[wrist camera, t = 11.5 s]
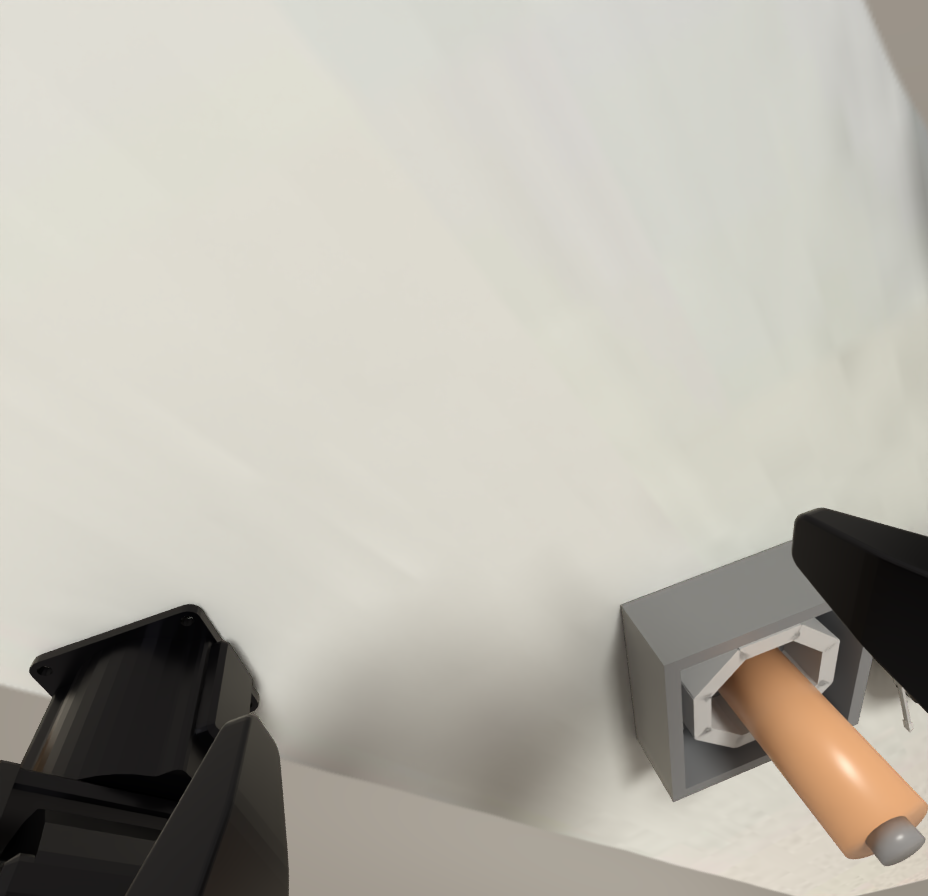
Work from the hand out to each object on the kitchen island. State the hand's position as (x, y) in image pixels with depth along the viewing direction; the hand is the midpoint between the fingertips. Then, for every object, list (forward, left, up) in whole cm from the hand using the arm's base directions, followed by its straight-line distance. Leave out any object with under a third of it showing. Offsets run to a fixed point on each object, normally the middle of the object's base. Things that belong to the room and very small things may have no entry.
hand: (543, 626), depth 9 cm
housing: (+13, -22, -13) cm, 29 cm away
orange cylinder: (+13, -22, -12) cm, 28 cm away
